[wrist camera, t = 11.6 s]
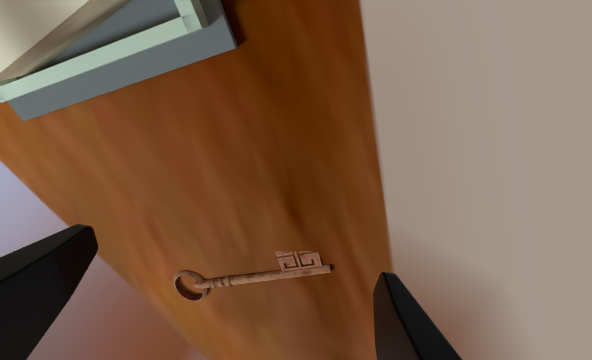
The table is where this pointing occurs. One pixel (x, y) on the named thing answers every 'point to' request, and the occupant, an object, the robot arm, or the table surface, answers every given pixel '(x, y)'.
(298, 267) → the key
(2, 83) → the tray frame
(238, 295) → the table surface
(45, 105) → the mat
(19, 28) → the card box
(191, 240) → the table surface
